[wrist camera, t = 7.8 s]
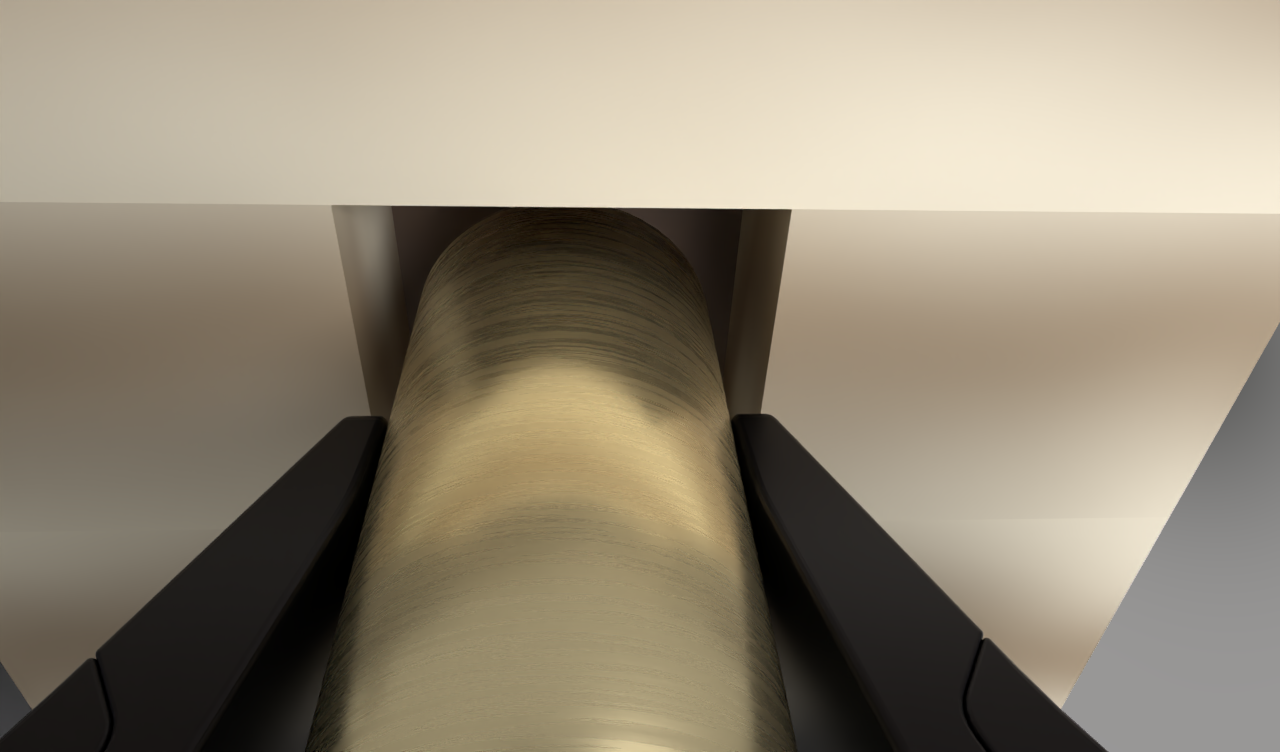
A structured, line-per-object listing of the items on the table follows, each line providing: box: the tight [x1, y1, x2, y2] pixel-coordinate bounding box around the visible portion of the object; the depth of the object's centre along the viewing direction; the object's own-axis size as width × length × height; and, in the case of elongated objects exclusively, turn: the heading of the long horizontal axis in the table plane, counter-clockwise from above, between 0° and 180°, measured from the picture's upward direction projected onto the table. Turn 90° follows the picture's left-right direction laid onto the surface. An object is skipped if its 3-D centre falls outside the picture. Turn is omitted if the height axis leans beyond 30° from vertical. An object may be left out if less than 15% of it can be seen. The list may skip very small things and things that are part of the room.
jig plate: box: [0, 0, 1280, 710], centre depth 12 cm, size 16×16×4 cm
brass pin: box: [305, 207, 798, 752], centre depth 8 cm, size 4×4×8 cm
